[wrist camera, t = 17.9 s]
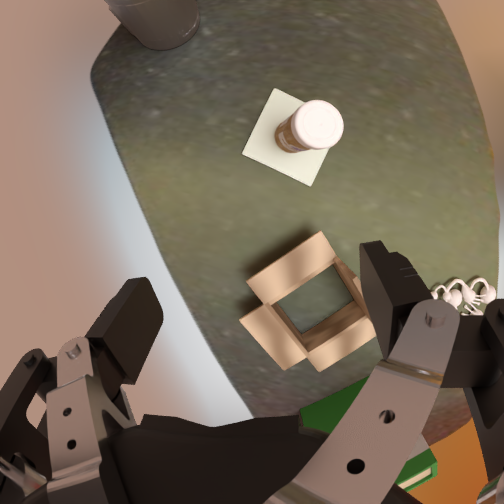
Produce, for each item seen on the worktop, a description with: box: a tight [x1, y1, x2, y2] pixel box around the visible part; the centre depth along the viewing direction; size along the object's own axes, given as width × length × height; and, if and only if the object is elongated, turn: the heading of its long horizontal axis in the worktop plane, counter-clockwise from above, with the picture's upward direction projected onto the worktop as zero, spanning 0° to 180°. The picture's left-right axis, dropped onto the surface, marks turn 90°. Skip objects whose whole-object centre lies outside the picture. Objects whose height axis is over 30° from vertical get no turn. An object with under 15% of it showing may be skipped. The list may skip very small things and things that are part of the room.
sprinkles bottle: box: [274, 100, 343, 153], centre depth 30 cm, size 5×5×14 cm
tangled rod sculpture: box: [430, 278, 496, 315], centre depth 45 cm, size 19×14×4 cm
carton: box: [239, 230, 376, 372], centre depth 38 cm, size 15×19×12 cm
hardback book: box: [300, 375, 437, 492], centre depth 40 cm, size 18×7×24 cm, turn 118°
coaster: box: [242, 88, 329, 187], centre depth 36 cm, size 10×10×1 cm
